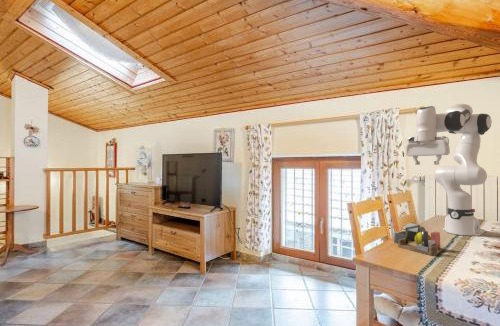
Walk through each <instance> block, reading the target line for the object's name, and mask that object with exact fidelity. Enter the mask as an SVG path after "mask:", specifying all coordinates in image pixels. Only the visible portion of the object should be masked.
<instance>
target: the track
mask: <svg viewBox="0 0 500 326" xmlns="http://www.w3.org/2000/svg"><path fill="white" fill-rule="evenodd" d="M397 247H398V248H400V249H405V250H408V251H411V252H414V253H415V252H416V253H420V254H422V255H426V256H430V257H432V256H436V255H438V247H437V246H431V247H429V252H426V251H422V250H418V249H417V245H413V244H410V243H408V244H406V239H405V238H403V239H399V240H398V243H397Z"/></svg>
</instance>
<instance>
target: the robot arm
mask: <svg viewBox="0 0 500 326" xmlns="http://www.w3.org/2000/svg"><path fill="white" fill-rule="evenodd" d="M473 112H474V111H473V108H472V106H470V105H469V104H465V103H457V104H454V105H452V106H449V107H448V108H446V109H445V110H444V111H443V112H442V113H437V111H436V106H434V105H429V106H423V107H420V108H418V109H417V111H416V118H415V119H416V124H415V125H416V127H417V129H416V134H415V135H413V136H410V137H407V138H406V142H407V143H406V145H405V155H406V156H407V157H412V159H413V161H414V163H415V166H420V165H421V161H419V160H418V158H419V157H428V156H429V157H430V156H431V157H432V156H435V157H436V159H435V161H433V163H434V164H433V165H435V166H438V165H439V167H437V168H436V169H435V171H434V172H433V177H434V180H435V181H436V182H437V183H438V184H440V185H441V187H443V190H444V191H445V192H446V195H447V205H448V206H447V210H446V211H447V215H446V216H445V218H444V227H442V230H443V231H445V232H446V233H448V234H452V235H460V236H475V237H481V236H482V235H483V234H484V233H486V229H482V228H481V222H480V220H479V219H477V217H476V216H475V214H474V213H476V209H475V208H473V204H472V200H473V199H472V196H471V195H470V193H469V192H467V191H465V190H463V189H462V188H461V186H477V185H478V186H479V185H483V184H484V183H485V182H486V181H487V178H488V175H487V174H488V173H487V171H486V170H485V169H484V168H483V167H482V166H480V165H479V164H478V154H479V151H480V147H481V136H483V135H485V134H486V132H488V131H489V130H490V129H491V127H492V118H491V117H492V116H490V114H488V113H475V114H473ZM446 132H448V133H449V134H452V135H453V134H455V135H456V134H462V135H461V137H460V138H459V139H458V142H457V144H456V147H455V151H454V153H453V160H454V161H455V162H456V163H458V164H459V165H446V166H440V162H441V159H442V156H448V155H449V154H450V153H451V151H450V138H449V137H446V136H438V134H437V133H446Z"/></svg>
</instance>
